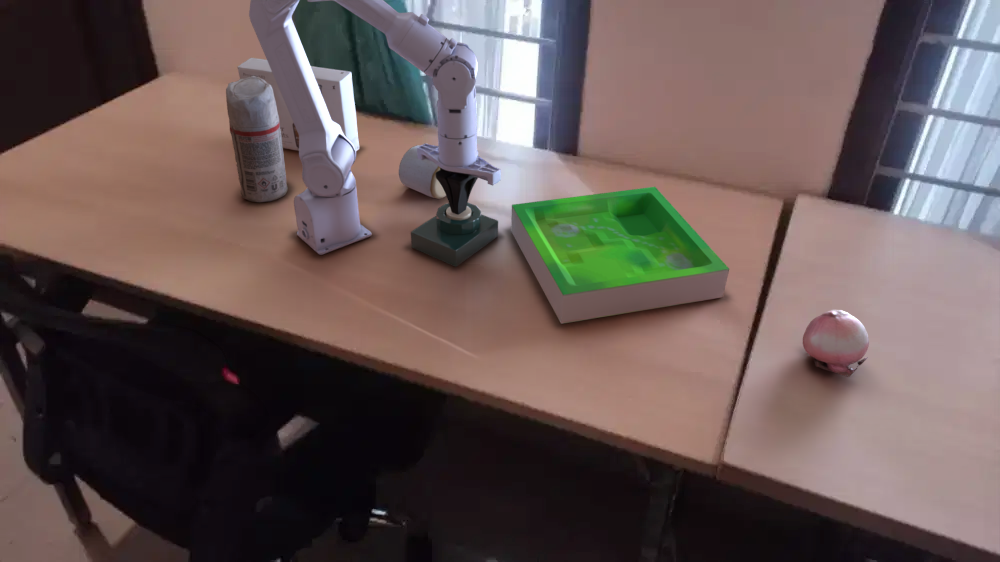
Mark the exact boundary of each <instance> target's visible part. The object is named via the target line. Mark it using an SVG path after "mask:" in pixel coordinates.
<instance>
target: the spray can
mask: <svg viewBox="0 0 1000 562" xmlns="http://www.w3.org/2000/svg"><path fill="white" fill-rule="evenodd" d="M225 97H226V109H227V116H228V123H229V133H230V136H231V142H232V147H233V152H234V160H235V163H236V171H237V175H238V181H239V184H240V195H241V197H242V198H243V199H244V200H247V201H249V202H253V203H265V202H272V201H276V200H278V199H280V198H282V197H284V196H286V194H287V192H288V190H289V189H288V185H287V174H286V164H285V155H284V154H285V153H284V148H283V146H282V138H281V131H280V122H279V116H278V113H277V107H276V102H275V98H274V94H273V89H272V87H271V85H269V84H268V83H267V82H266V81H264V80H263V79H261V78H259V77H255V76H252V77H248V78H245V79H240V78H239V79H238V80H236V81H231V82H229V83H228V84H227V87H226V88H225Z"/></svg>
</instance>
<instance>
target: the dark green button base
mask: <svg viewBox="0 0 1000 562" xmlns="http://www.w3.org/2000/svg"><path fill="white" fill-rule="evenodd" d="M467 206H468V207H469V208H470V209H471V217H470V218H468V219H465V220H452V219H450V218H447V217H446V210H447V208H448V207H450V205H449V202H447V203H444V204H443V205H441V206H439V207H438V208H437V210H436V214H435V215H434V216H433V217H431V218H430V219H428V220H427V221H425V222H423V223H422V224H421V225H419V226H417V227H416V228H414V229H413V230H411V231H410V242H411V244H410V245H411V248H412V249H414V250H415V251H418V252H420V253H423V254H425V255H427V256H429V257H432V258H434V259H437V260H439V261H441V262H444V263H446V264H448V265H451V266H453V267H455V268H456V267H458V266H460V265H461V264H462V263H464V262H465V261H467V260H468V259H469V258H470V257H472V256H473V255H475V254H476V253H477V252H479V251H480V250H481V249H483V248H484V247H486V246H487V245H488V244H489V243H492V241H493V240H495V239H497V238H498V237H499V220H497V219H495V218H492V217H490V216H487V215H485V214H482V210H481V209H480V208H479V207H478V205H477V204H473V203H472V202H471V203H470V202H468V203H467Z"/></svg>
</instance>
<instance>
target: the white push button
mask: <svg viewBox="0 0 1000 562" xmlns="http://www.w3.org/2000/svg"><path fill="white" fill-rule="evenodd" d="M446 217H447V218H450V219H452V220H465V219H468V218H470V217H471V209H470V208H469V207H468V206H467V207H466V210H465V211H464V212H462V213H460V214H459V215H457V214H455V213H452V211H451V208H450V207H448V208H447V210H446Z"/></svg>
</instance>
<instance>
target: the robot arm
mask: <svg viewBox="0 0 1000 562" xmlns="http://www.w3.org/2000/svg"><path fill="white" fill-rule="evenodd" d="M300 1H301V0H250V3H249V11H248V12H249V13H248V17H249V20H250V23H251V26H252V28H253V30H254V32H255V35H256V38H257V40H258V42H259V44H260V47H261V50H262V52H263V55H264V57H265V60H267V61H268V63H269V66H270V68H271V70H272V73H273V75H274V78H275V80H276V82H277V85H278V87H279V89H280V92H281V94H282V96H283V99H284V101H285V103H286V106H287V108H288V111H289V113H290V115H291V118H292V120H293V122H294V125H295V127H296V129H297V132H298V134H299V151H298V158H299V160H300V162H301V166H302V171H301V178H302V181H303V184H304V186H305V187H306V189H305V190H303V191H302V192H301V193H299V194H297V195H295V196H294V198H293V207H294V213H295V219H296V226H297V231H296V235H297V237H299V238H300V239H301V240H302V241H303V242H304V243H305V244H306V245H308V246H309V248H311V249H312V250H313V251H314V252H315V253H317V254H318V255H320V256H322V255H325V254H328V253H330V252H333V251H335V250H338V249H341V248H344V247H346V246H349V245H351V244H353V243H356V242H359V241H362V240H364V239H368V238H369V237H372V235H373V234H372V232H371V231H370V230H369V229H367V228H366V227H365V226H364V225H362V224H361V220H360V219H361V218H360V211H359V210H360V209H359V201H358V192H357V181H356V178H355V176H354V174H353V172H352V166H353V165H354V164H355V162H356V160H357V151H356V150H355V147H354V145H353V144H352V142H351V141H350V140H349V139H348V138H347V137H346V136H345V135H344V134H343V132H342V130H341V127H340V125H339V124H337V123H335V122H334V121H332V120H331V117H330V115H329V112H328V110H327V107H326V105H325V102H324V99H323V97H322V94H321V92H320V89H319V87H318V84H317V82H316V79H315V77H314V74H313V71H312V69H311V66H312V65H311V63H310V62H309V58H308V57H307V53H306V51H305V49H304V46H303V44H302V41H301V39H300V36H299V34H298V31H297V29H296V26H295V24H294V21H293V18H292V17H293V14H294V12H295V10H296V9H297V7H298V4H299V2H300ZM327 1H330V0H306V2H309V3H314V2H327ZM331 1H333V2H335V3H336V4H338V5H340V6H342V7H343V8H344V9H346V10H347V11H348V12H350V13H352V14H354V15H355V16H357V17H358V18H360V19H361V20H363V21H365V22H366V23H368V24H369V25H370V26H372V27H374V28H375V29H377V30H378V31H380V32H381V33H383V34H384V35H385V38H386V42H387V45H388V48H389V49H390V50H391V51H393V52H395V53H396V54H397V55H399V56H400V57H401V58H403V59H404V60H405V61H407V62H408V63H410V64H411V65H412V66H413V67H415V68H417V69H418V70H419V71H420V72H422V73H423V74H425V75H426V76H429V77H431V79H432V84H433V86H434V89H435V90H436V91H437V101H436V112H437V113H436V116H437V117H436V118H437V144H438V145H435V144H429V143H426V142H425V143H422V144H421V145H419V147H417V158H418V159H420V160H424V159H427V160H430V161H433V162H434V163H435V164H437V165H438V166H439V167H441V168H440V170H439V171H437V172H436V179H437V180H438V181H439V183H440V184H441V186H442V187H443V189H444V191H445V194H446V196H445V197H446V199H447V203H449V205H450V208H451V211H452V213H455V214H457V215H459V214H460V213H462V212H464V211H465V210H466V207H467V203H469V198H470V195H471V193H472V190H473V188H474V186H475V184H476V182H477V181H478V179H480V180H483V181H486V182H487V185H490V186H492V187H493V186H494V185H497V184H498V183H499V182H500V181H501V177H502V176H501V175H502V174H501V173H502V172H501V170H502V169H501V168H498V167H496V166H494V165H493V164H491V163H489V162H488V161H486V160H485V159H484V158H482V157H481V156H479V150H478V122H477V121H478V119H477V118H478V110H477V109H478V108H477V107H478V105H477V99H476V96H477V89H476V84H477V83H476V82H477V78H476V77H477V73H478V70H479V69H478V67H479V64H478V58H477V56H476V53H475V51H474V50H472V48H470V46H469V45H468V44H467V43H464V42H459V41H457V40H456V39H454V38H453V37H451V38H450V39H449V38H448V37H447V36H445V35H444V34H442V33H441V32H440V31H439V30H437V29H436V28H435V27H434V26H433V25H430V24H429V21H430V18H428V17H427V16H426V15H425V14H423V13H421V14H420V15H419V16H418V15H417V14H415V13H414V12H413V11H409V12H398V11H397V10H396V9H394V8H393V7H392V6H391V5H390V4H388V3H387V2H386V1H385V0H331Z"/></svg>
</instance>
